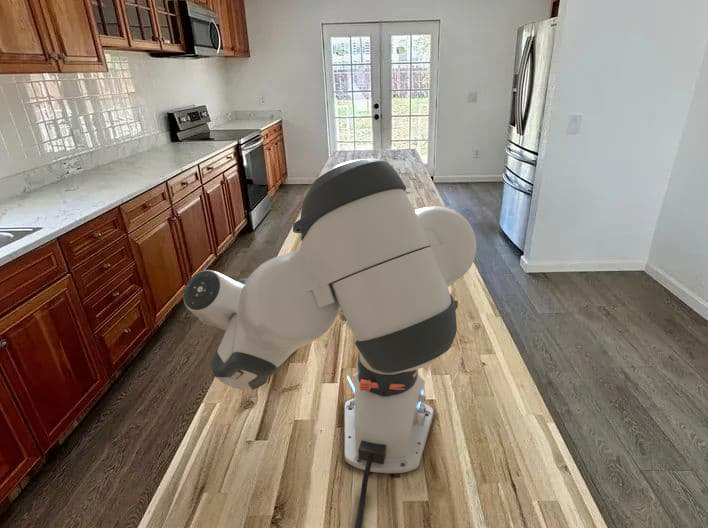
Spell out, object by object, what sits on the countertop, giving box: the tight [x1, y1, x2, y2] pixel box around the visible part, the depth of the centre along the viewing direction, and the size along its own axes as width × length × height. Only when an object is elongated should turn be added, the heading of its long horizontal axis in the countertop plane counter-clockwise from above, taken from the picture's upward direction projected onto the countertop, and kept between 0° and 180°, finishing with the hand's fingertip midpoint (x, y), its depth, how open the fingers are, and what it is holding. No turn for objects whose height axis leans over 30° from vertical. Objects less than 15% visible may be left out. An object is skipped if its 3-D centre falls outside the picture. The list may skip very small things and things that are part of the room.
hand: (261, 325), depth 100 cm, fingers closed
